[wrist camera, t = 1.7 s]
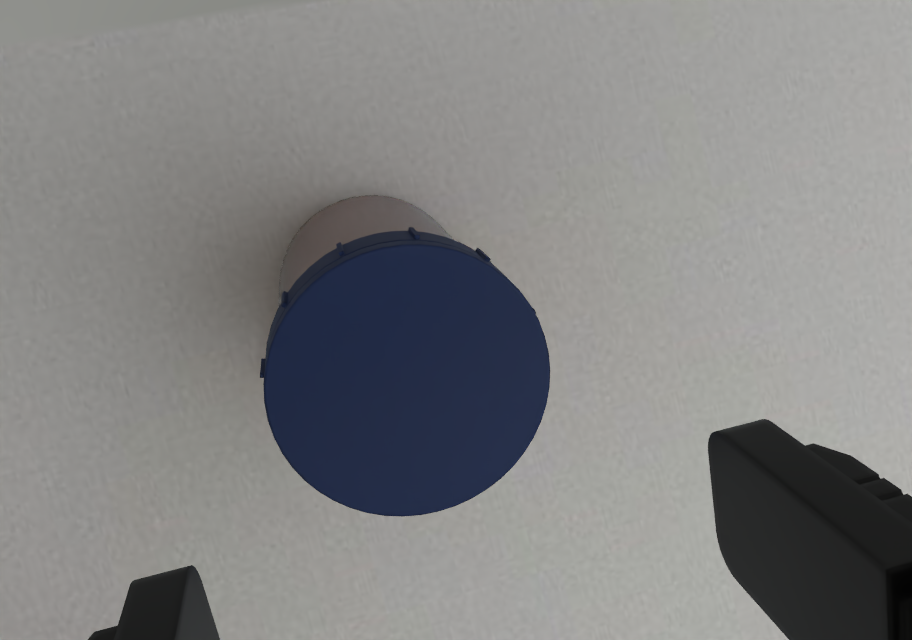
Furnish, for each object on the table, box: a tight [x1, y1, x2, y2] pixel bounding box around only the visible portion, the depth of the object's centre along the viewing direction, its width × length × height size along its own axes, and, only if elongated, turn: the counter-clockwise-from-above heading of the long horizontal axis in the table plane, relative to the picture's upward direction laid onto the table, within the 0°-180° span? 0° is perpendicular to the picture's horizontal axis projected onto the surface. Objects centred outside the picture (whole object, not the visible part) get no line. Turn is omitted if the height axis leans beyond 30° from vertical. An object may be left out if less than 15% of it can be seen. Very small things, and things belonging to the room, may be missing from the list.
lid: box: [260, 227, 550, 516], centre depth 19 cm, size 6×6×2 cm
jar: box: [279, 195, 454, 306], centre depth 22 cm, size 5×5×8 cm
